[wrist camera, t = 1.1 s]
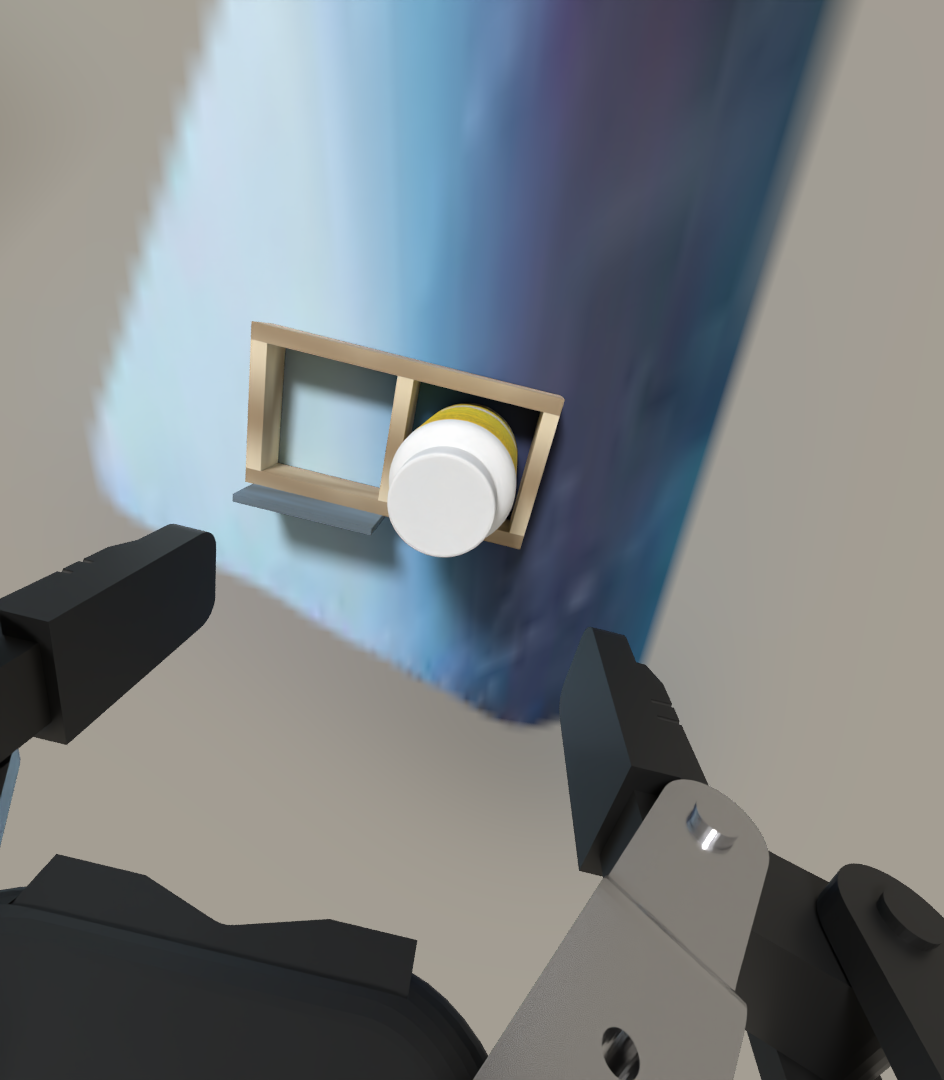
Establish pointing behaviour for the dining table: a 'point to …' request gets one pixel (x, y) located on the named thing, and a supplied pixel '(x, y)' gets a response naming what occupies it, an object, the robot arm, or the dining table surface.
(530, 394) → the rack
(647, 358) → the dining table surface
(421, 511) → the supplement bottle
